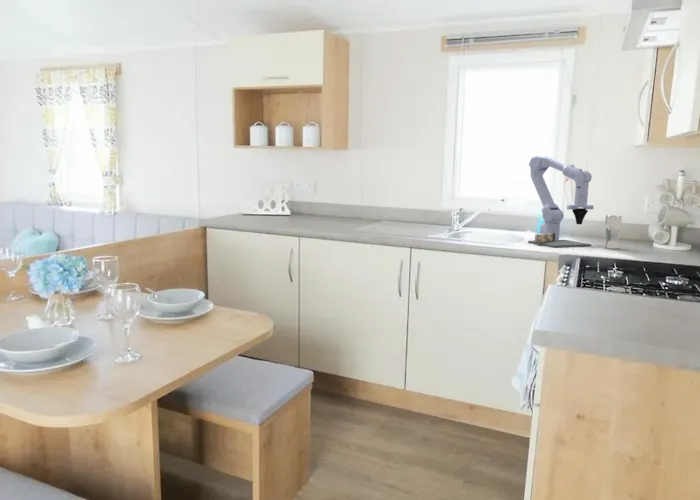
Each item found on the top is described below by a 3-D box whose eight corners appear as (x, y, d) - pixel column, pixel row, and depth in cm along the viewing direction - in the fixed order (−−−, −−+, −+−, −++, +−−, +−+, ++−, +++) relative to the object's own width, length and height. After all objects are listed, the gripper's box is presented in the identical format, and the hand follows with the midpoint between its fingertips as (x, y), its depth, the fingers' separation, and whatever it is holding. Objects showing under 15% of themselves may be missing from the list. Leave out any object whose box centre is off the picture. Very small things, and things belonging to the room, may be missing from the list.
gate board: (527, 242, 268) (528, 232, 268) (564, 241, 276) (564, 232, 275) (553, 247, 252) (554, 237, 251) (591, 246, 259) (592, 236, 259)
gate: (551, 239, 271) (551, 232, 271) (555, 240, 270) (556, 233, 269) (535, 242, 260) (536, 234, 260) (540, 242, 259) (540, 235, 258)
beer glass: (610, 249, 250) (613, 216, 248) (599, 247, 257) (602, 215, 255) (622, 249, 252) (625, 216, 250) (612, 247, 259) (614, 215, 257)
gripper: (575, 196, 261) (573, 225, 263) (599, 196, 266) (596, 224, 268) (564, 195, 267) (562, 223, 269) (588, 196, 272) (586, 223, 274)
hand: (579, 224), depth 269 cm, fingers closed
